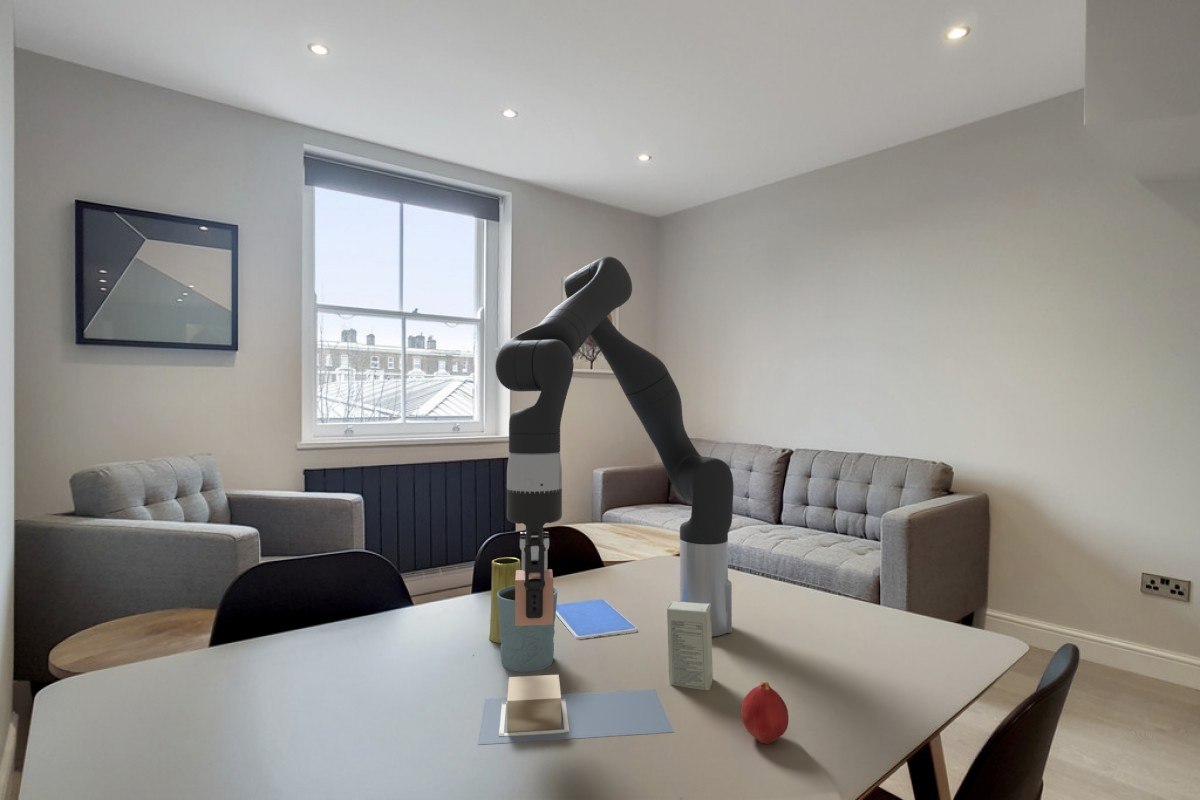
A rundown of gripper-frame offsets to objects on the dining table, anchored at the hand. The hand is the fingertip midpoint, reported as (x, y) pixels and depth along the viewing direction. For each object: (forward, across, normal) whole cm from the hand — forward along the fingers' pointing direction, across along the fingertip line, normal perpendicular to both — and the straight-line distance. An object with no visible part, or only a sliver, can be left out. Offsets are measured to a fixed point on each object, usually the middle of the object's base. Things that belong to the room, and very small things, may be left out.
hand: (534, 609), depth 82 cm
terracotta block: (+1, 0, 0) cm, 1 cm away
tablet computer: (+16, +39, -12) cm, 44 cm away
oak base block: (+14, 0, 0) cm, 14 cm away
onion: (+15, -9, -29) cm, 34 cm away
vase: (+15, +31, +5) cm, 35 cm away
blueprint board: (+15, 0, -6) cm, 16 cm away
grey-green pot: (+15, +19, +1) cm, 24 cm away
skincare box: (+15, +8, -24) cm, 30 cm away
